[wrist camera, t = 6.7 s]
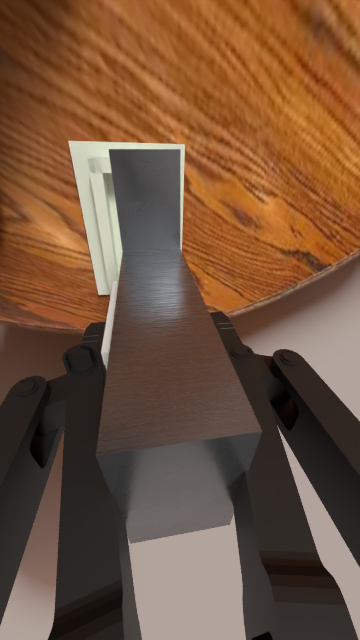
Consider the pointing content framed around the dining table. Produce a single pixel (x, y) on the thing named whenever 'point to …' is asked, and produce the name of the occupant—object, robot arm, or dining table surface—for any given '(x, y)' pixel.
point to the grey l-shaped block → (167, 371)
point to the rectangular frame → (106, 204)
